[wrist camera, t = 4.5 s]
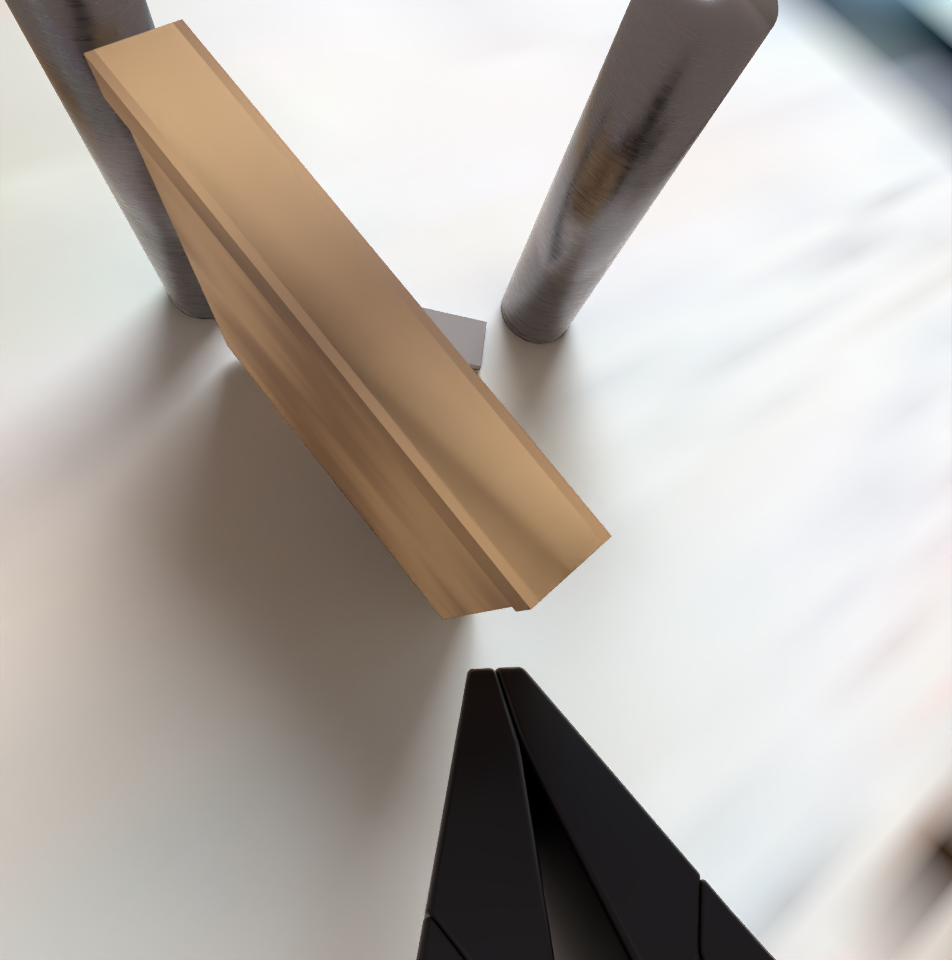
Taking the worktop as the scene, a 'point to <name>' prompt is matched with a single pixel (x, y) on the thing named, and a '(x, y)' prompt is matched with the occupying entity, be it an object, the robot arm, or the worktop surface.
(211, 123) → the light wooden flat block
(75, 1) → the hinge post
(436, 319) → the threshold
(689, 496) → the worktop surface
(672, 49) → the post
